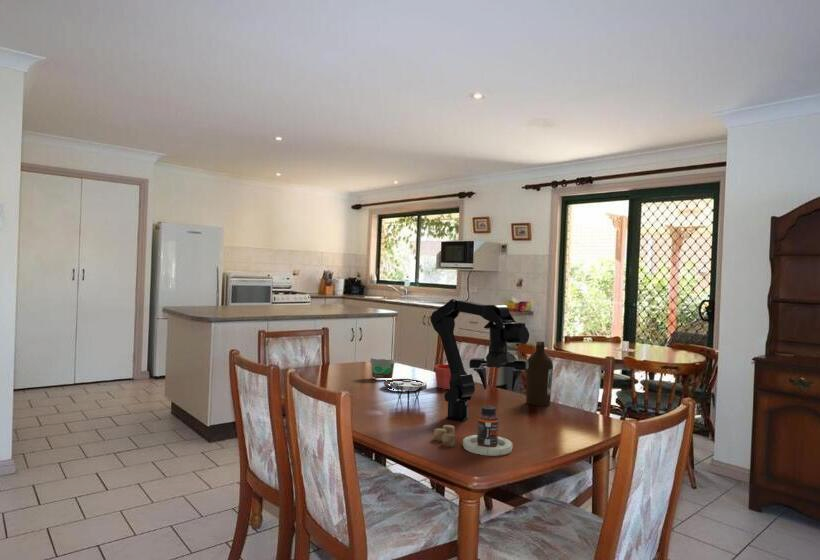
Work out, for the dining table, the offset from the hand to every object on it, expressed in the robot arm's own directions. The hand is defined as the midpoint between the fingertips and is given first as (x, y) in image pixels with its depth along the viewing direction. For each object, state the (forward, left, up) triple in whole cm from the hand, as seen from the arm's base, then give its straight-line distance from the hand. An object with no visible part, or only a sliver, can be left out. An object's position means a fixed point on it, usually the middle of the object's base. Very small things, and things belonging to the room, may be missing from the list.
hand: (499, 390), depth 181 cm
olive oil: (+6, +46, -13) cm, 48 cm away
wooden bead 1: (-13, -20, -13) cm, 27 cm away
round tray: (+2, -21, -13) cm, 25 cm away
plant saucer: (-52, +43, -14) cm, 69 cm away
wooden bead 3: (-9, -24, -13) cm, 29 cm away
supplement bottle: (+2, -21, -13) cm, 24 cm away
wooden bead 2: (-12, -15, -13) cm, 23 cm away
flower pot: (-36, +55, -13) cm, 67 cm away
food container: (-69, +56, -13) cm, 90 cm away
